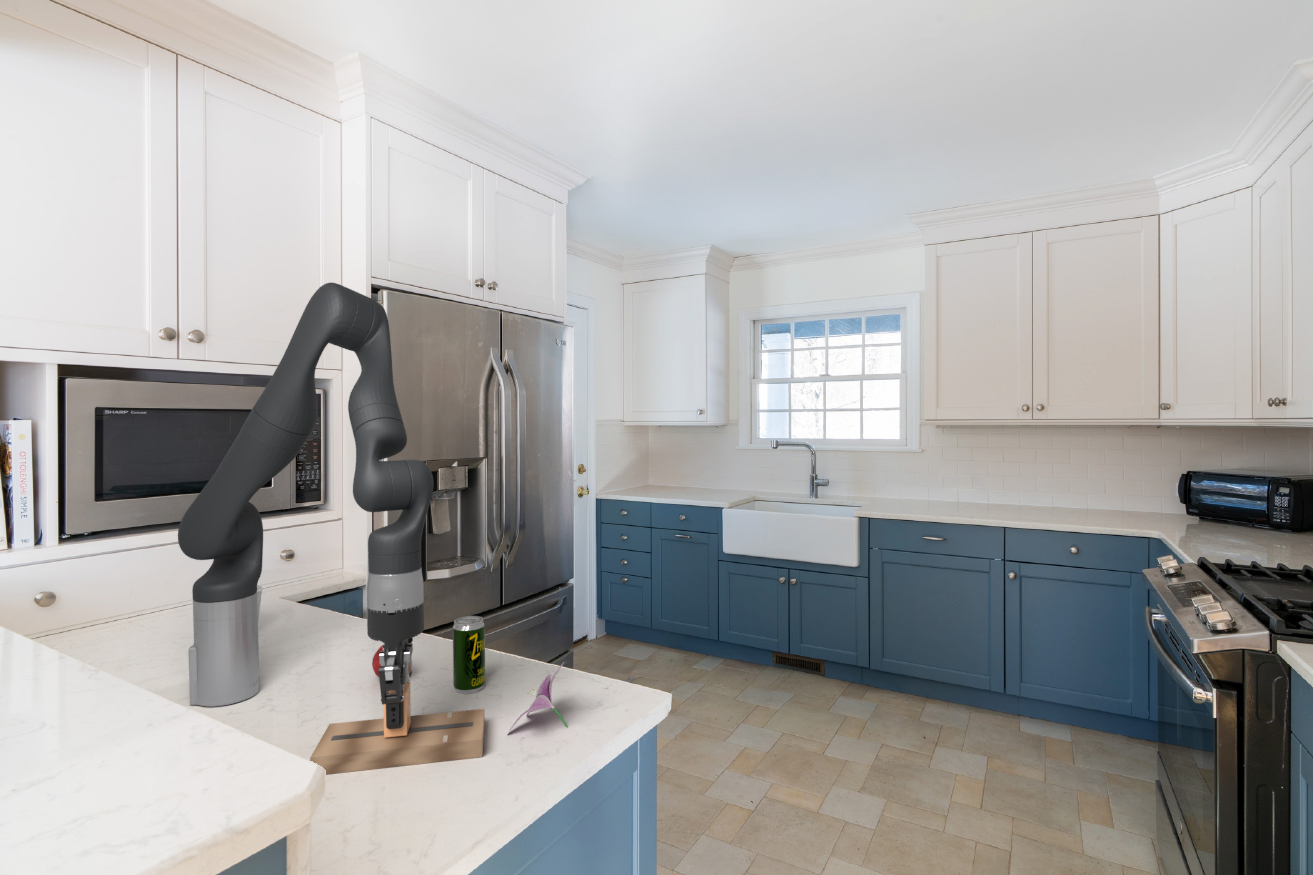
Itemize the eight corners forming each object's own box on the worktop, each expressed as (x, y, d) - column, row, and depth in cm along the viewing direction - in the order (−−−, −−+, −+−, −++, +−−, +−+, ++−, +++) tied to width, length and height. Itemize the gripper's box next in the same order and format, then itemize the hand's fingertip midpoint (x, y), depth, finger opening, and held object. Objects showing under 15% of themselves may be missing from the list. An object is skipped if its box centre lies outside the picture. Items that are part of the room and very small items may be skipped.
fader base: (310, 776, 88) (310, 756, 88) (329, 740, 98) (329, 722, 98) (482, 756, 93) (482, 738, 93) (484, 724, 103) (484, 707, 103)
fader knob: (384, 737, 93) (383, 694, 93) (388, 724, 97) (388, 683, 97) (406, 735, 94) (406, 692, 94) (410, 722, 98) (410, 681, 98)
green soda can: (447, 692, 115) (446, 623, 115) (465, 680, 120) (464, 614, 120) (474, 696, 114) (473, 626, 113) (491, 683, 119) (490, 616, 118)
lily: (561, 708, 111) (531, 659, 111) (607, 699, 104) (576, 646, 103) (511, 760, 102) (479, 707, 101) (558, 754, 94) (524, 696, 94)
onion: (395, 689, 116) (394, 644, 116) (365, 687, 117) (364, 642, 117) (413, 676, 122) (413, 633, 122) (385, 674, 123) (384, 631, 123)
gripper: (376, 589, 101) (378, 702, 102) (356, 617, 87) (358, 747, 88) (429, 586, 103) (430, 697, 103) (417, 613, 89) (419, 741, 89)
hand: (397, 719), depth 95 cm, fingers closed on fader knob, 4 cm apart
